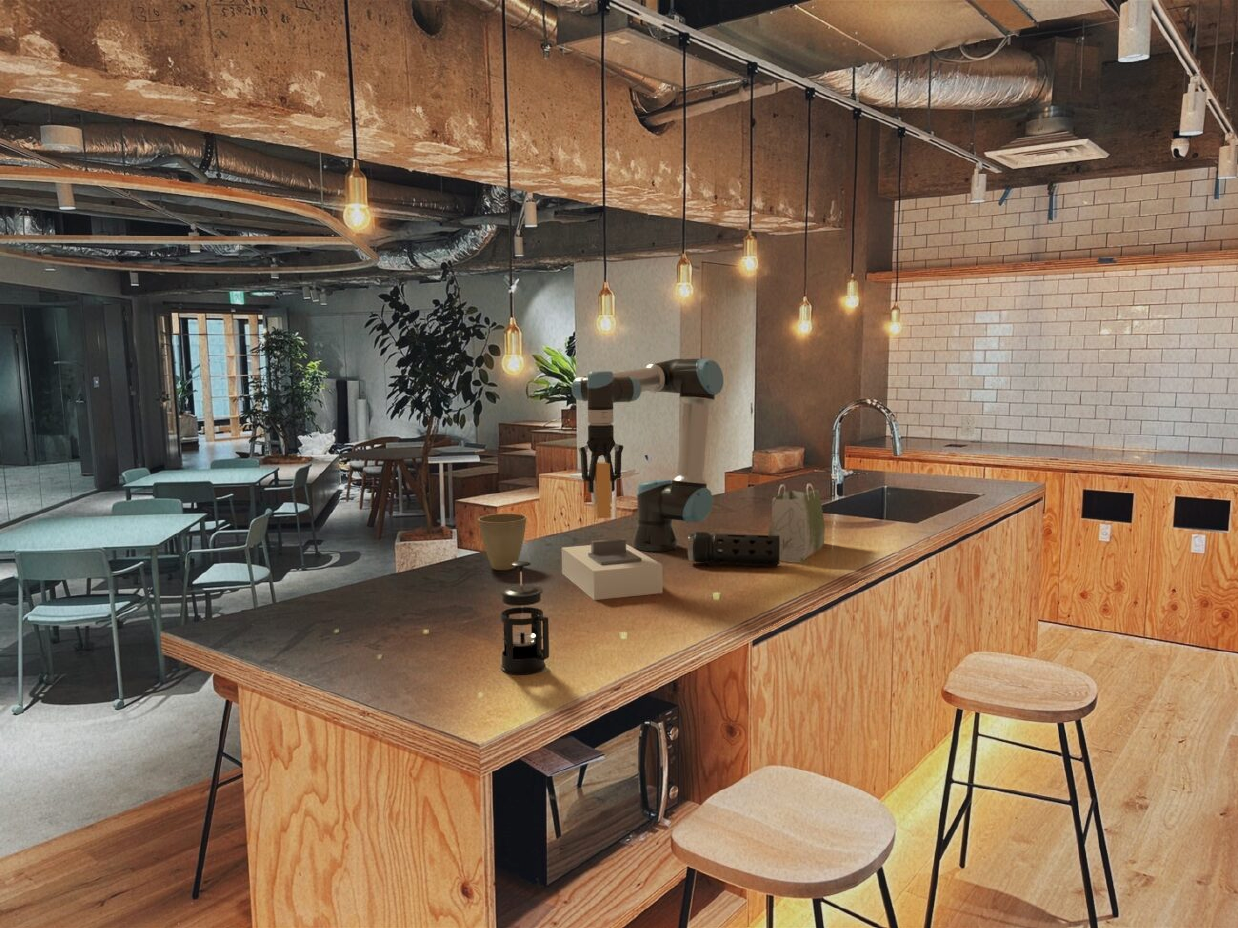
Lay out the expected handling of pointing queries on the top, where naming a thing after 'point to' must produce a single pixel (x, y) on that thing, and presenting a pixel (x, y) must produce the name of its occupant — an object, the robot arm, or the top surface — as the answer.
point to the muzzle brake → (734, 549)
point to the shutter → (611, 552)
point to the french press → (522, 647)
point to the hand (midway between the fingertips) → (601, 502)
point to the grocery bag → (797, 524)
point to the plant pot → (502, 538)
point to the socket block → (611, 574)
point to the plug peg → (602, 490)
